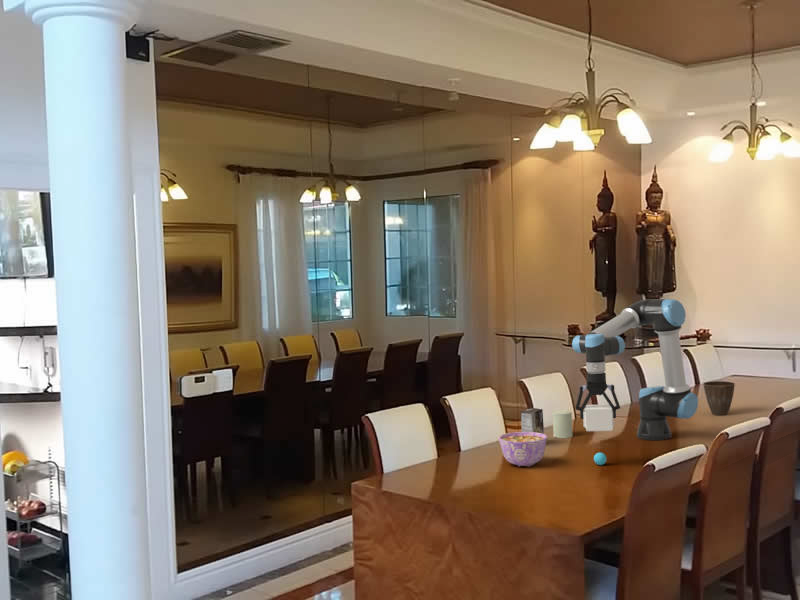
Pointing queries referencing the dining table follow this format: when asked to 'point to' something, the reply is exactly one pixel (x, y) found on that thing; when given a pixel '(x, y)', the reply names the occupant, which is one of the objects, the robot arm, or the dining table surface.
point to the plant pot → (719, 396)
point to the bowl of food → (523, 447)
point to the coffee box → (532, 420)
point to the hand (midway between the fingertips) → (598, 426)
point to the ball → (600, 458)
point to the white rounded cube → (598, 417)
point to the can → (562, 424)
